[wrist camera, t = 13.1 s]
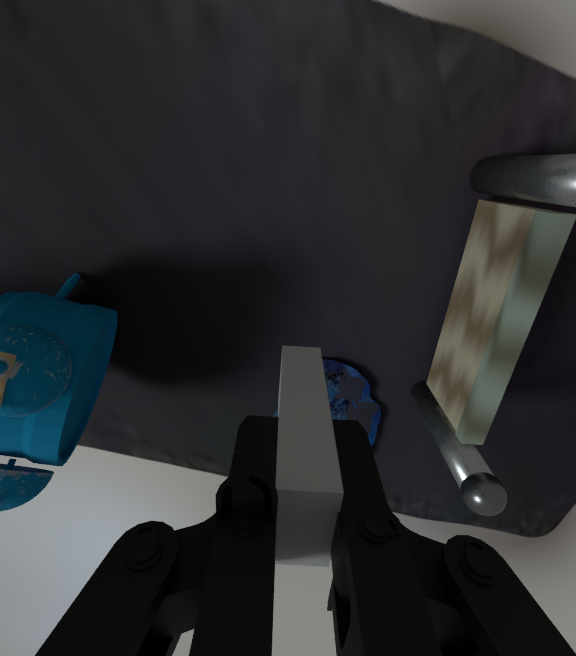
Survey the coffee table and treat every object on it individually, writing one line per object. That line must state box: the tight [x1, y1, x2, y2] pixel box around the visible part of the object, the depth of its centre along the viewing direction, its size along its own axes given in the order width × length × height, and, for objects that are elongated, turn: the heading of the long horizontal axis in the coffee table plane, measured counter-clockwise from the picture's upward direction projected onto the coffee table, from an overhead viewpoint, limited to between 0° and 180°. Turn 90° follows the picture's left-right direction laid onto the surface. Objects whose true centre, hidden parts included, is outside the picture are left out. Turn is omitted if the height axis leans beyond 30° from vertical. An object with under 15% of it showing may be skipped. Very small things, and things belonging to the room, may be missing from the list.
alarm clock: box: [0, 273, 118, 511], centre depth 29 cm, size 17×10×20 cm, turn 157°
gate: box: [426, 200, 576, 445], centre depth 31 cm, size 20×3×9 cm, turn 177°
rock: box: [271, 359, 381, 447], centre depth 43 cm, size 15×17×2 cm
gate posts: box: [411, 154, 576, 516], centre depth 29 cm, size 27×3×16 cm, turn 176°
